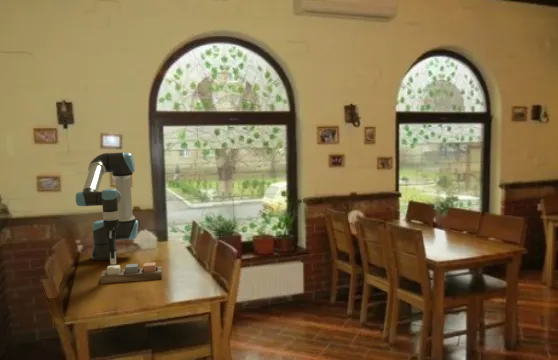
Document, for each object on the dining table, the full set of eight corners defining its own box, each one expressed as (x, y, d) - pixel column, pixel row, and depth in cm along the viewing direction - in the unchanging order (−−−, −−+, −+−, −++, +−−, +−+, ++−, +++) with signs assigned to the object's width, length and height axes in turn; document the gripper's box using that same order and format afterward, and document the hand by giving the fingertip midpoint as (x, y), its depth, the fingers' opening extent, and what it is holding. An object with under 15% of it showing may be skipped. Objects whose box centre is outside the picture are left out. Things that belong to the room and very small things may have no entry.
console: (103, 276, 255) (103, 270, 254) (161, 272, 261) (161, 265, 261) (100, 283, 243) (100, 276, 243) (161, 278, 250) (161, 271, 249)
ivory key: (108, 274, 252) (108, 265, 252) (120, 273, 254) (120, 265, 253) (107, 277, 246) (106, 268, 246) (119, 276, 248) (119, 267, 247)
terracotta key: (144, 271, 256) (143, 263, 256) (155, 270, 258) (155, 262, 257) (143, 274, 250) (143, 266, 250) (155, 273, 252) (155, 265, 251)
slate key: (126, 272, 254) (126, 264, 254) (138, 271, 256) (138, 263, 255) (125, 276, 248) (125, 267, 248) (137, 275, 250) (137, 266, 249)
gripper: (104, 217, 253) (107, 261, 256) (101, 221, 241) (104, 268, 243) (119, 216, 255) (122, 260, 257) (117, 221, 242) (119, 266, 245)
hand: (113, 263), depth 250 cm, fingers closed
